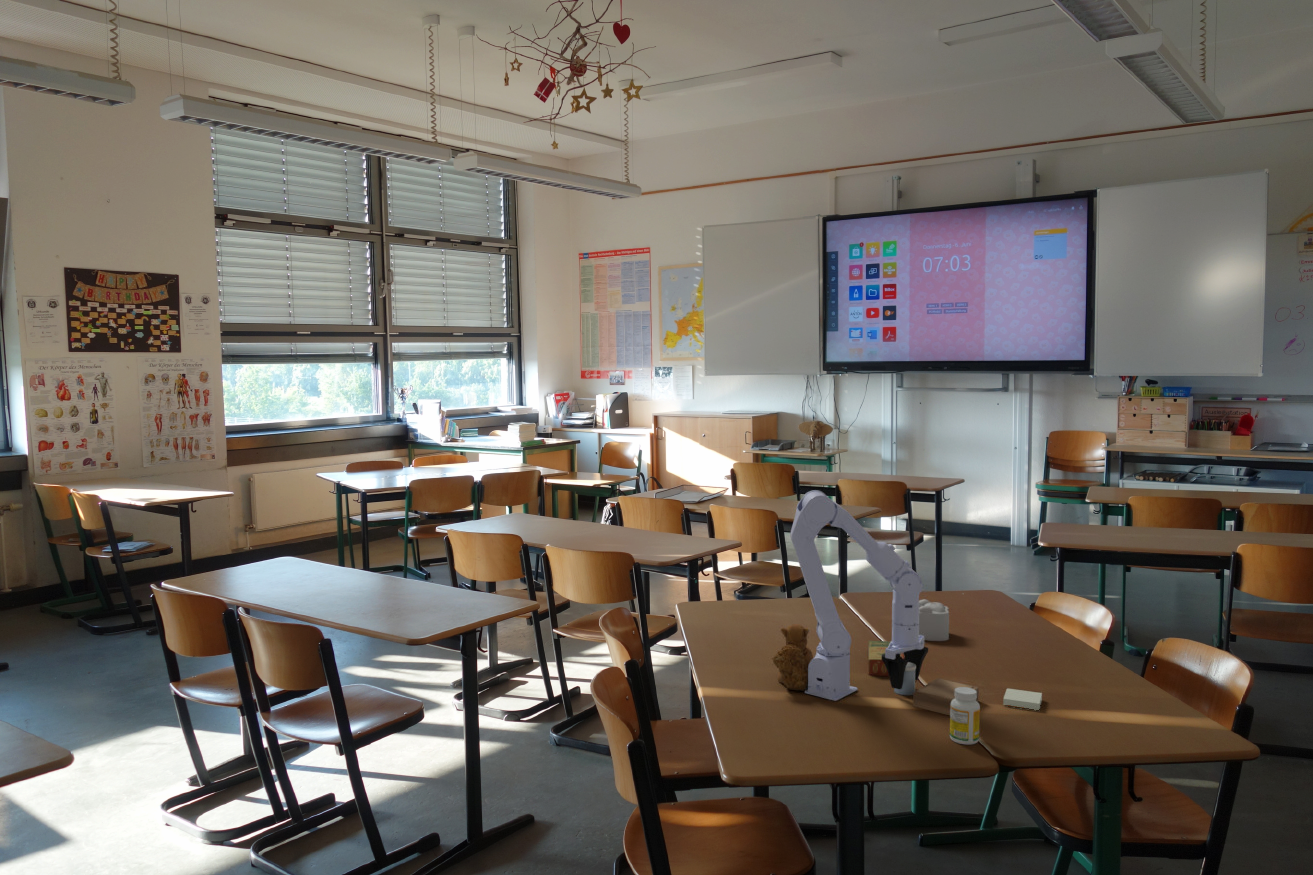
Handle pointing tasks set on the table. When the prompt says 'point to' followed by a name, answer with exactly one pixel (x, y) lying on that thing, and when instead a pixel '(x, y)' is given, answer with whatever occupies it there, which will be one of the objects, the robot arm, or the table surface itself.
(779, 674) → the brown teddy bear
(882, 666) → the carton
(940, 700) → the box
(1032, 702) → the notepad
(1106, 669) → the table surface
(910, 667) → the cup
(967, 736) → the supplement bottle
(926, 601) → the lumpy-topped squat cylinder
